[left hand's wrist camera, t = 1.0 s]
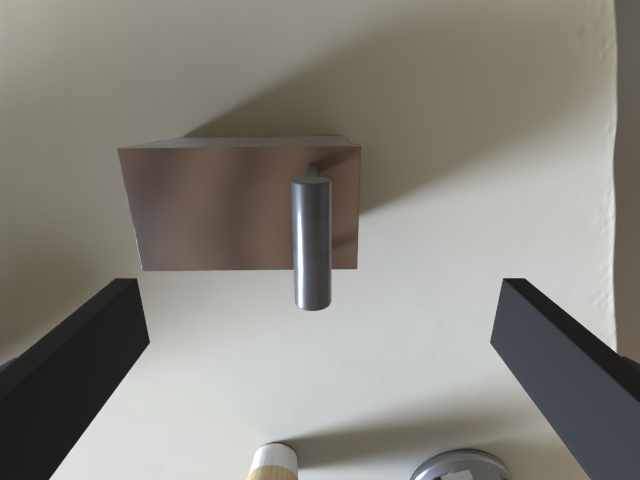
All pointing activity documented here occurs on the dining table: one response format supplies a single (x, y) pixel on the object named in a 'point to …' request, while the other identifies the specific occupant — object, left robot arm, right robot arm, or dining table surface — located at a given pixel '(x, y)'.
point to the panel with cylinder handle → (247, 210)
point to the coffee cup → (274, 463)
